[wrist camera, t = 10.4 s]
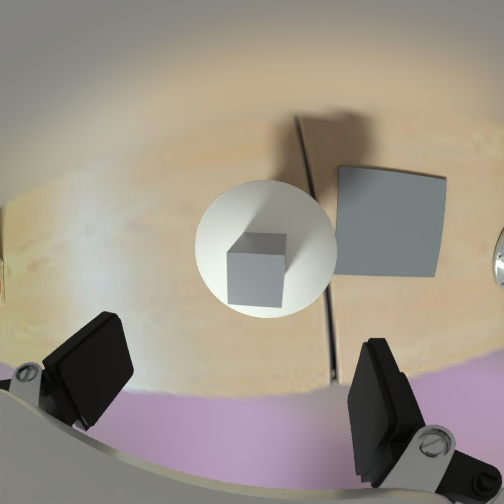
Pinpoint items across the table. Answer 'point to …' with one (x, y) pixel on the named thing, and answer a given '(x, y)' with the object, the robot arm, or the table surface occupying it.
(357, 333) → the table surface
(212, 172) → the table surface
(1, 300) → the coffeecake box
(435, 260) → the mat
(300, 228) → the lid
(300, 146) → the table surface
